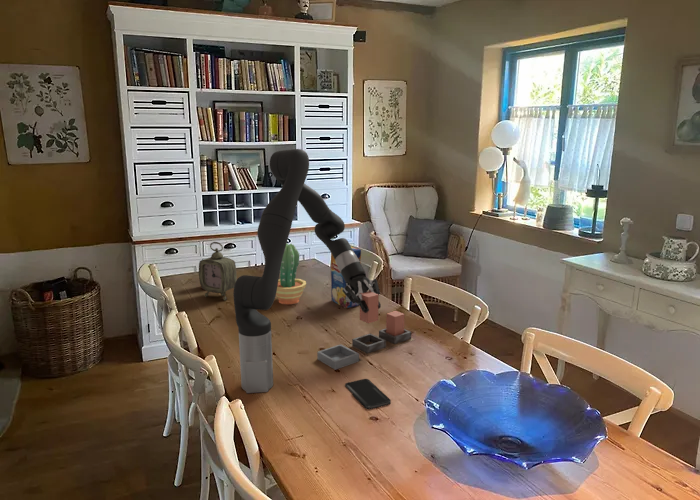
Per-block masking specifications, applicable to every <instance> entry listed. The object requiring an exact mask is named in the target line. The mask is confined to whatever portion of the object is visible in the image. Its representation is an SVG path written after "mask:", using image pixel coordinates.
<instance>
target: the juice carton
mask: <svg viewBox="0 0 700 500" xmlns="http://www.w3.org/2000/svg"><path fill="white" fill-rule="evenodd" d="M350 246H351V245H350ZM351 248H352V250H353V252H354V253H355V254H356V256H357V257H358V259H359V261H360V263H361V264H362V250H361V249H359V248H357V247H355V246H351ZM330 253H331V252H330ZM330 276H331V277H330V279H331V280H330V282H331V284H330V285H331V286H330V288H331V289H330V290H331V292H330V293H331V302H334V303H335V304H337V305H339V306H341V307H343V308H344V309H348V308H353V307H358V306H359V307H360V305H359V304H358V303H352V302H351V301H350V299H349V298H348V297H347V296H346V295H345V293H344V292H343V291H342V290H343V289H344V288H345V286H348V284H347V283H346V282H345V280H344V278H343V276H342V274H341V272H340V270H339V268H338V266H337V264H336V261H335V259H334V257H333V255H332V253H331V254H330ZM353 292H354V291H353Z"/></svg>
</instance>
